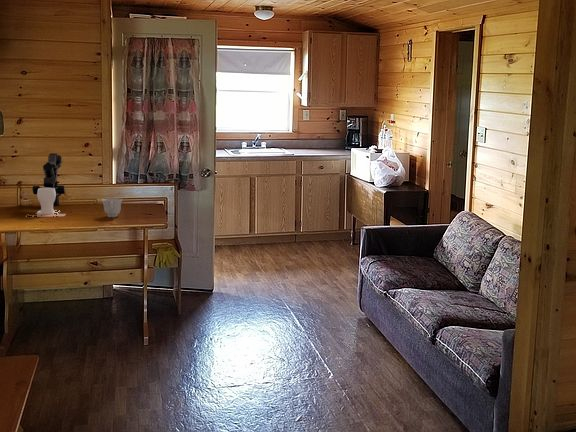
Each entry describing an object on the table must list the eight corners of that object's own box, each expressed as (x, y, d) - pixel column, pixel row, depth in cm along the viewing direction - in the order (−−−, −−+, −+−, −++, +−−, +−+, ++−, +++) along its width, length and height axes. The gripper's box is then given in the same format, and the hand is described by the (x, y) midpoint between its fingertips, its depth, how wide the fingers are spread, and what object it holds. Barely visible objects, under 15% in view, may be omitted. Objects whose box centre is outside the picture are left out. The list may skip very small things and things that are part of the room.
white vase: (59, 212, 431) (58, 187, 429) (52, 215, 421) (51, 190, 418) (42, 211, 432) (41, 187, 430) (34, 214, 422) (33, 189, 419)
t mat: (30, 210, 434) (30, 210, 434) (68, 210, 439) (68, 210, 439) (25, 217, 414) (25, 216, 414) (64, 216, 419) (64, 216, 419)
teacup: (101, 219, 412) (100, 202, 410) (102, 214, 426) (102, 198, 424) (122, 218, 414) (122, 202, 412) (123, 214, 429) (122, 198, 427)
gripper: (32, 172, 431) (30, 193, 423) (63, 172, 435) (62, 192, 426) (34, 183, 440) (32, 204, 431) (65, 183, 444) (64, 203, 435)
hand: (48, 200), depth 431 cm, fingers closed
